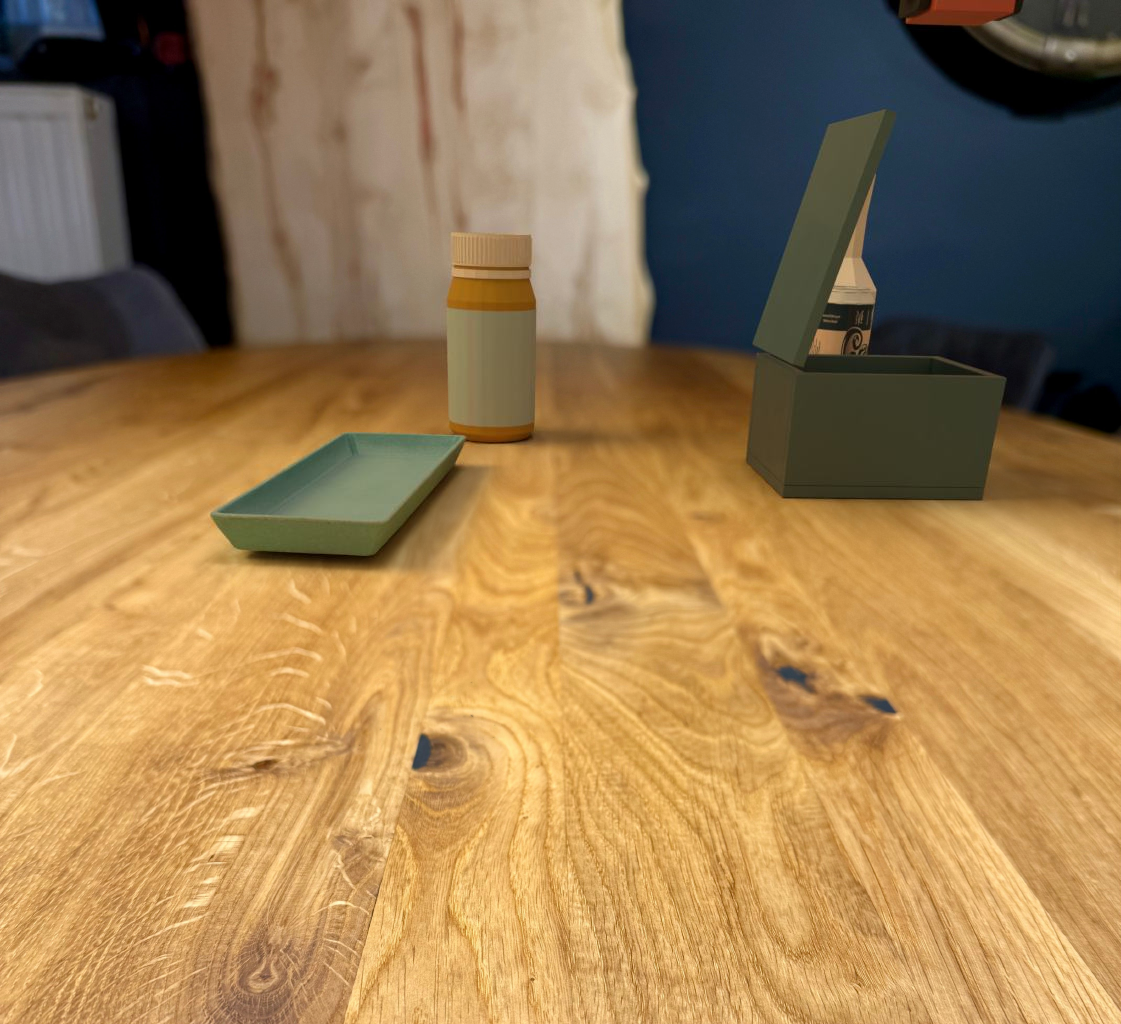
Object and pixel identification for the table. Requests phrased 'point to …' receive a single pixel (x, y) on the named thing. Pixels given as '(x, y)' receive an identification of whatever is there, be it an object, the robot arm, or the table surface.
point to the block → (963, 12)
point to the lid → (822, 234)
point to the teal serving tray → (340, 494)
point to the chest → (873, 426)
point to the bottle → (491, 337)
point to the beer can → (845, 322)
